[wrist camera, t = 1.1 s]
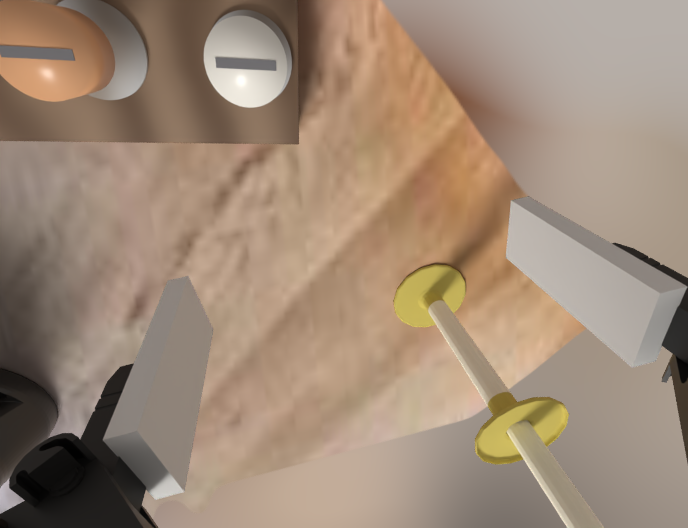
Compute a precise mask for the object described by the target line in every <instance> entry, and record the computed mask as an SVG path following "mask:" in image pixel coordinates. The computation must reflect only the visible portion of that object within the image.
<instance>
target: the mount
mask: <svg viewBox="0 0 688 528" xmlns="http://www.w3.org/2000/svg"><path fill="white" fill-rule="evenodd" d="M0 1H3V0H0ZM32 1H37V2H42V3H47V4H52V5H57V6H61V7H66V8H70V9H73V10H76V11H78V12H80V13H82V14H84V15H85V16H87V17H88V18H90V19H91V20H92V21H93V22H95V23H96V24H97V25H98V26H99V27H100V29H101V30H102V31H103V32H104V34H105V35H106V37H107V38H108V40H109V42H110V44H111V46H112V49H113V52H114V56H115V71H114V75H113V77H112V80H111V81H110V83H109V84H108V85H107V86H106V87H105V88H103V89H102V90H100V91H97V92H94V93H91V94H87V95H83V96H80V97H76V98H72V99H68V100H65V101H58V102H51V101H44V100H39V99H36V98H33V97H31V96H28V95H26V94H24V93H23V92H21V91H19V90H18V89H16V88H15V87H13V86H12V85H11V84H10V83H8V82H7V81H6V80H5V79H4V78H3V77H2V76H1V75H0V141H64V142H147V143H229V144H299V96H298V0H32ZM232 16H249V17H252V18H255V19H257V20H259V21H261V22H263V23H264V24H266V25H267V26H268V27H269V28H270V29H271V30H272V31H273V32H274V33H275V34H276V35H277V37H278V38H279V40H280V42H281V44H282V46H283V48H284V51H285V54H286V59H287V75H286V80H285V83H284V86H283V88H282V90H281V91H280V93H279V94H278V95H277V97H275V98H274V99H273V100H272V101H271V102H269V103H267V104H265V105H263V106H260V107H254V108H248V107H242V106H238V105H235V104H233V103H231V102H229V101H228V100H226V99H225V98H224V97H222V96H221V95H220V94H219V93H218V92H217V90H216V89H215V88H214V87H213V85H212V83H211V82H210V80H209V78H208V75H207V73H206V69H205V65H204V47H205V43H206V40H207V37H208V35H209V33H210V32H211V30H212V29H213V28H214V27H215V26H216V25H217V24H218V23H219V22H221V21H222V20H224V19H226V18H229V17H232Z"/></svg>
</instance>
